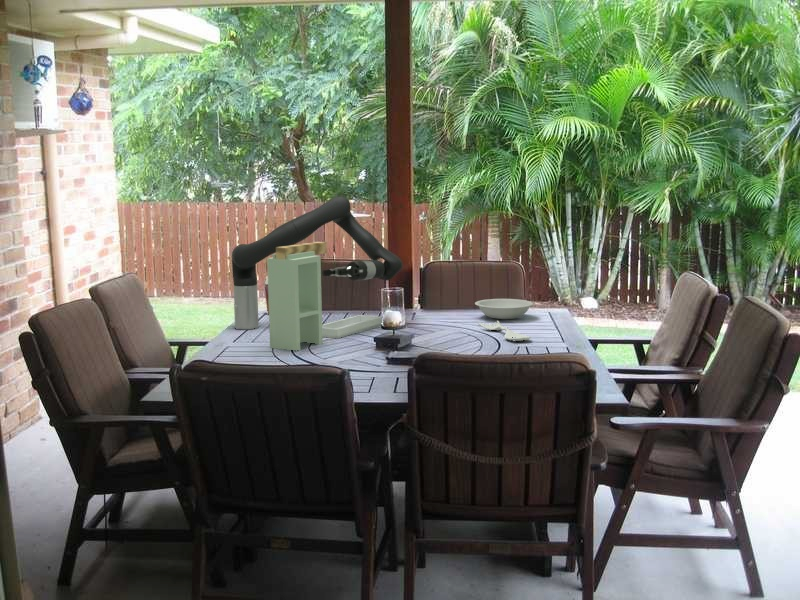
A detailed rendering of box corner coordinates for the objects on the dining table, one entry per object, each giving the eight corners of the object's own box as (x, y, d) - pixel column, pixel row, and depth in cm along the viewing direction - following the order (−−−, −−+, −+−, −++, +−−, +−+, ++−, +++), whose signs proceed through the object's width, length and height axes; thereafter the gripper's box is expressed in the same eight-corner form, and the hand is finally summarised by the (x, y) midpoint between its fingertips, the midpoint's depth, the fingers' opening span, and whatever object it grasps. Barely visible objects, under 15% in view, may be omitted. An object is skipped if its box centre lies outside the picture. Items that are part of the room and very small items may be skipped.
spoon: (498, 328, 355) (498, 319, 355) (535, 343, 326) (535, 334, 325) (476, 329, 353) (476, 321, 352) (512, 345, 323) (512, 335, 322)
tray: (337, 338, 336) (337, 329, 336) (313, 336, 342) (313, 326, 341) (382, 325, 362) (382, 316, 362) (360, 323, 368) (359, 314, 367)
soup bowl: (542, 316, 379) (542, 301, 378) (518, 325, 359) (518, 309, 358) (491, 312, 392) (491, 297, 391) (464, 320, 372) (464, 304, 371)
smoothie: (288, 312, 395) (286, 267, 392) (279, 315, 387) (278, 269, 384) (270, 311, 398) (269, 266, 395) (262, 315, 390) (260, 269, 387)
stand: (296, 351, 315) (294, 255, 310) (270, 347, 321) (267, 254, 316) (322, 343, 328) (320, 251, 322) (296, 340, 334) (293, 250, 329)
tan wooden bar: (285, 259, 312) (284, 247, 312) (276, 258, 314) (275, 247, 314) (326, 252, 332) (326, 242, 332) (317, 252, 334) (317, 241, 334)
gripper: (347, 261, 353) (317, 263, 341) (374, 260, 343) (343, 262, 331) (349, 280, 353) (318, 283, 341) (375, 279, 344) (344, 282, 332)
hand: (330, 272), depth 336 cm, fingers open, 8 cm apart
